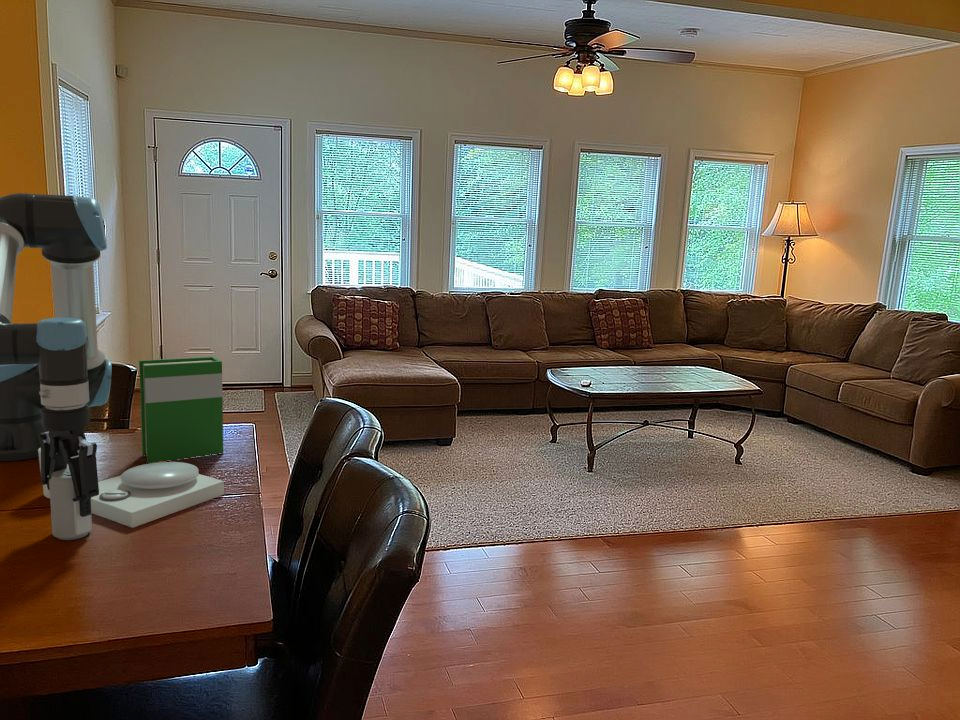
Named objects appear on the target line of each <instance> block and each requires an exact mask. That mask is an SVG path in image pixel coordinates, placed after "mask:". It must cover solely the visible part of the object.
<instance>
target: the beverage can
mask: <svg viewBox="0 0 960 720" xmlns="http://www.w3.org/2000/svg"><path fill="white" fill-rule="evenodd" d="M51 477H52V478H51V479H50V481H49V487H50V498H49V499H50V500H49V501H50V515H51V516H50V518H51V520H50V521H51V533H52V536H53V537H55V538H57V539H58V540H61V541H72V540H78V539H81V538H83V537H86V536H87V535H88V534H89V533H90V532H91V531H92V530H90V531H87V532H84V533H81V534H78V535H76V534H75V529H74V509H73V500H72V499H73V498H76V495H75V490H74V486H73V482H72V478H71V474H70V470H69V468H68V469H63V470H59V471H55V472H53V473H52V474H51ZM92 518H93V517H91V529H93V523H92Z"/></svg>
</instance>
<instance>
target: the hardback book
mask: <svg viewBox="0 0 960 720" xmlns="http://www.w3.org/2000/svg"><path fill="white" fill-rule="evenodd" d="M138 363H139V364H138V365H139V366H138V367H139V369H138V370H139V392H140V394H139V395H140V398H139V399H140V424H141V425H140V427H141V449H142V450H141V452H142V453H141V454H142V455H143V456H144V455H147V456H146V464H147V463H153V462H159V461H167V460H177V459H184V458H191V457H196V456H205V455H210V454H211V455H212V454H219V453H223V454H224V417H223V416H224V415H223V414H224V413H223V408H224V407H223V406H224V404H223V361H222V360H220V359H219V358H217V357H216V356H201V357H200V356H199V357H198V356H197V357H181V358H179V357H178V358H162V359H159V358H158V359H142V360H141V359H140V360H139V361H138ZM143 456H142V457H143ZM144 457H145V456H144ZM177 461H178V460H177Z"/></svg>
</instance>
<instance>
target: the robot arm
mask: <svg viewBox="0 0 960 720" xmlns="http://www.w3.org/2000/svg"><path fill="white" fill-rule="evenodd" d="M106 235H107V234H106V229H105V224H104V218H103V213H102V210H101V206H100V203H99V202H98V201H97V200H96V199H95V198H93V197H86V196H85V197H84V196H77V195H62V194H41V193H27V192H17V193H16V192H15V193H10V194H7V195H2V196H1V197H0V462H16V461H23V460H30V459H35V458H39V455H38V449H39V448H41V472H40V480H41V481H40V482H41V484H42V486H43V485H45V484H46V485H47V488H48V490H50V487H49V481H50V479H51V478H52V477H51V474H52V473H53V472H55V471H59V470H63V469H67V464H68V465H69V470H70V474H71V478H72V482H73V486H74V490H75V495H76V498H73V499H72V500H73V509H74V529H75V534H76V535H78V534H81V533H84V532H87V531H90V530H91V531H92V529H93V528H92V529H91V518H92V513H91V497H94V496H97V495H99V485H98V482H99V476H98V466H97V451H98V450H97V449H98V445H97V443H96V442H88V441H87V437H86V434H85V431H84V430H85V428H86V427H88V426H89V425H90V424H91V413H90V412H91V410H90V408H91V407H100V406H104V405H105V404H106V403H108V402H109V398H110V393H111V392H110V391H111V385H112V373H113V372H112V370H113V369H112V368H113V367H112V364H113V363H112V360H110V359H106V355H105V353H104V352H103V351H102V350H101V349H99V348H98V331H97V330H98V329H97V313H96V311H97V309H96V292H95V290H96V289H95V272H94V271H95V269H94V267H95V266H94V263H95V262H97V261H98V260H99V259H100V258H101V251H105V250H107V248H108V244H107V237H106ZM24 248H29V249H30V248H31V249H32V248H33V249H41V256H42V258H44V259H45V260H46V261H47V262H49V263H50V272H51V284H52V285H51V286H52V287H51V288H52V299H53V300H52V301H53V310H54V317H49V318H44V319H43V318H42V319H40V320H39V321H38V322H37V323H36V322H33V323H31V322H29V323H12V322H13V321H12V320H13V309H14V298H15V297H14V296H15V285H16V275H17V265H18V264H17V263H18V255H21V253H22V252H23V249H24ZM78 455H79V457H75V458H71V457H74V456H78ZM47 476H49V477H47ZM91 531H90V532H91Z"/></svg>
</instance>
